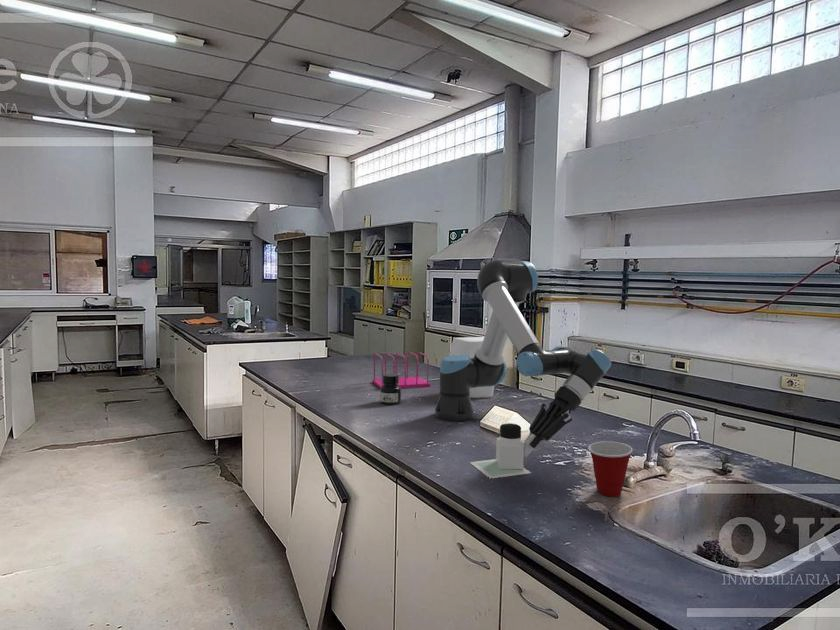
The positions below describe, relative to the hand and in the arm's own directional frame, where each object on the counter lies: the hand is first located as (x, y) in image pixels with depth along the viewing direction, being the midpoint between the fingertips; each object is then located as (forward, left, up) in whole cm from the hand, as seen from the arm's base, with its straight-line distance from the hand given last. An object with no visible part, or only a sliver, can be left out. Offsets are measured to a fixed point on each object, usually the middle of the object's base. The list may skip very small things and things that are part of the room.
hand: (522, 453), depth 156 cm
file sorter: (-82, +83, -4) cm, 117 cm away
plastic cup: (+25, -9, -4) cm, 27 cm away
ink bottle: (-69, +48, -4) cm, 84 cm away
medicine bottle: (-3, -2, -4) cm, 5 cm away
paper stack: (-45, +80, -4) cm, 92 cm away
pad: (-5, -5, -3) cm, 8 cm away
